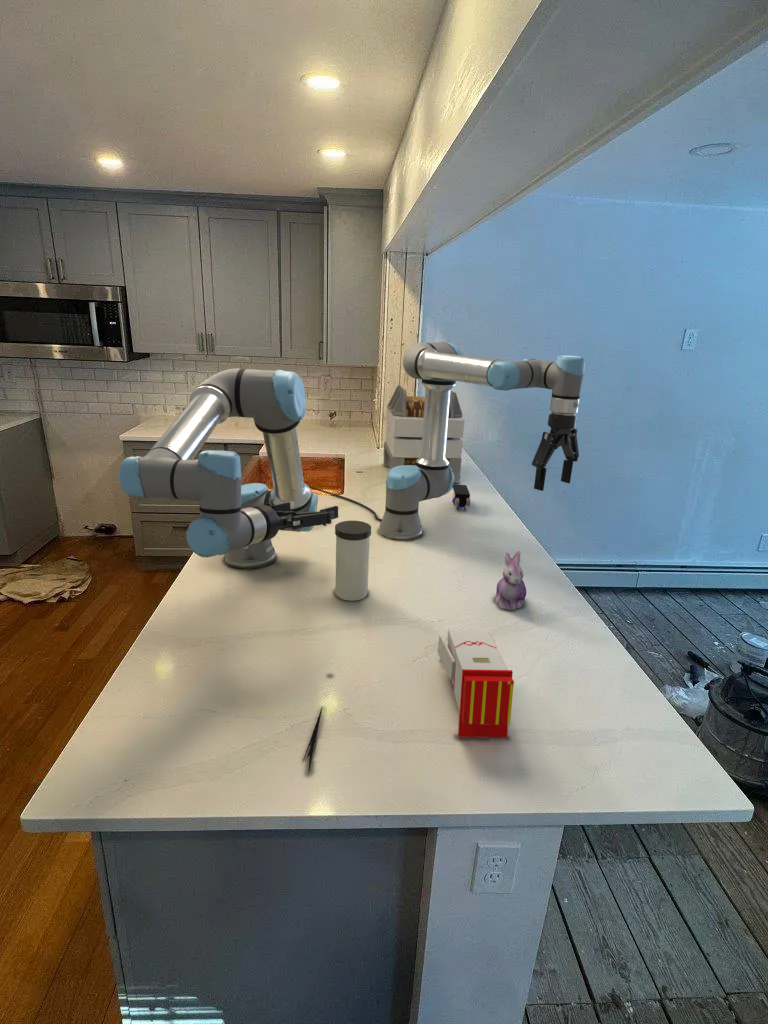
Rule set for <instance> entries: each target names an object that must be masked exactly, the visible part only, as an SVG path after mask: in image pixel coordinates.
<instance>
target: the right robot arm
mask: <svg viewBox="0 0 768 1024" xmlns="http://www.w3.org/2000/svg"><path fill="white" fill-rule="evenodd" d="M585 365H586V360H585V358H584V357H582V356H578V355H566V354H565V355H564V354H563V355H558V356H557V357H556V360H555V361H549V360H541V359H536V358H524V359H521V360H506V359H505V360H504V359H503V360H502V359H496V358H487V357H479V356H471V355H464V354H463V352H462V350H461V349H460V347H459V346H457V345H456V344H455V343H451V342H445V341H443V342H442V341H441V342H440V341H439V342H438V341H437V342H417V343H414V344H412V345H411V346H409V347H408V348H407V350H406V351H405V353H404V355H403V358H402V366H403V369H404V372H405V373H406V374H407V375H408V376H409V377H411V378H412V379H415V380H421V385H422V386H423V387H424V389H425V392H424V397H425V404H424V419H423V434H422V449H421V457H420V458H418V459H417V461H416V466H413V465H401V466H396V467H394V468H392V469H390V468H389V470H388V472H387V474H386V479H385V504H384V505H385V507H384V508H385V509H384V513H383V515H382V518H380V517H378V515H377V513H376V511H374V510H373V509H372V508H370V507H368V506H367V505H365V504H364V503H361V502H358V501H357V500H354V499H352V498H349V497H346V496H342V495H339V494H337V493H333V492H331V491H327V490H323V489H320V488H317V487H314V486H311V485H308V486H309V488H310V489H311V490H315V491H318V492H321V493H324V494H328V495H331V496H334V497H337V498H341V499H344V500H346V501H349V502H352V503H354V504H356V505H359V506H360V507H363V508H365V509H366V510H368V511H370V513H372V514H373V515H374V517H375V519H376V520H377V521H379V526H378V533H379V534H380V535H381V536H382V537H385V538H387V539H389V540H395V541H410V540H415V539H418V538H420V537H421V536H422V535H423V525H422V524H421V518H420V515H419V507H420V506H419V505H420V502H423V501H427V500H431V499H437V498H440V497H443V496H446V495H448V493H450V492H451V490H452V489H453V484H455V483H454V473H452V469H451V467H450V466H449V462H448V461H447V459H446V458H445V453H446V441H447V428H448V416H449V404H450V392H451V391H452V389H453V388H454V387H455V386H456V384H457V382H461V383H465V384H473V385H479V386H487V387H491V388H492V389H494V390H496V391H503V392H504V391H511V390H520V389H532V388H533V389H534V388H539V389H546V390H551V398H550V404H549V413H548V418H547V419H548V420H547V426H548V427H549V428H550V431H549V432H548V431H543V432H542V435H541V440H540V442H539V445H538V447H537V449H536V452H535V454H534V457H533V460H532V461H531V466H533V467H535V475H534V477H535V478H534V485H533V489H534V490H537V491H539V492H543V491H544V489H545V484H546V483H545V482H546V476H547V468H546V466H547V465H548V463H549V461H550V459H551V457H552V456H553V454H554V453H555V451H556V450H557V449H558V448H560V447H561V449H562V452H563V455H564V458H565V459H563V463H562V468H561V469H562V470H561V475H560V482H562V483H566V484H571V478H572V472H573V466H574V463H576V462H578V461H579V457H580V453H579V444H578V428H576V423H577V419H578V416H577V414H578V412H579V411H578V410H579V406H580V397H581V391H582V385H583V380H584V376H585Z"/></svg>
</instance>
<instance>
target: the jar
mask: <svg viewBox="0 0 768 1024" xmlns="http://www.w3.org/2000/svg"><path fill="white" fill-rule="evenodd" d="M370 537H371V536H370ZM370 537H368V538H366V539H362V540H346V539H342V538H339V537H337V536H336V535H335V584H334V585H335V587H334V589H335V590H334V593H335V596H336V597H337V598H338V599H340V600H341V599H342V600H345V601H359V600H363V599H365V598H366V597H367V596H368V591H369V567H370V566H369V563H370V542H371V541H370V540H371V539H370Z"/></svg>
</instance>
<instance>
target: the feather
mask: <svg viewBox="0 0 768 1024" xmlns="http://www.w3.org/2000/svg"><path fill="white" fill-rule="evenodd" d="M329 675H330V676H331V675H332V674H331V673H330V674H329ZM322 710H323V707H321V708H320V710H319V713H318V716H317V719H316V723H315V725H314V728H313V731H312V733H311V737H310V739H309V742H308V745H307V748H306V751H305V754H304V757H303V760H302V763H301V767H302V765H303V763H304V761H305V758H308V759H309V760H308V762H307V763H308V764H307V766H308V771H310V770H311V766H312V765H311V764H312V760H313V757H315V756H314V755H315V751H316V749H315V746H317V739H318V733H319V729H320V722H321V717H322V712H323V711H322ZM313 754H314V755H313ZM306 755H307V757H306Z"/></svg>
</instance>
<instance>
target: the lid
mask: <svg viewBox="0 0 768 1024" xmlns="http://www.w3.org/2000/svg"><path fill="white" fill-rule="evenodd" d="M334 534H335V537H336V536H337V537H339V538H342V539H346V540H362V539H366V538H368V537H371V535H372V525H371V524H370V523H368V522H365V521H361V520H344V521H340V522H338V523H336V524H335V526H334Z"/></svg>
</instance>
